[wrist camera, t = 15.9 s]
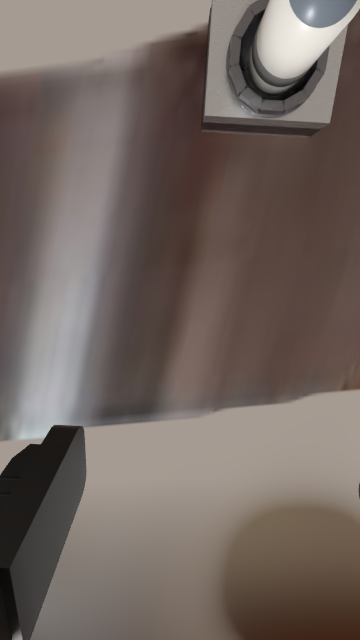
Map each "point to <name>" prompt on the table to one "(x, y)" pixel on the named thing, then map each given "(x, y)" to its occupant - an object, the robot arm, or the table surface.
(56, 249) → the table surface
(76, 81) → the table surface
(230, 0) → the banded square pedestal
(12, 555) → the robot arm
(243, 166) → the table surface
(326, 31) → the lens barrel
